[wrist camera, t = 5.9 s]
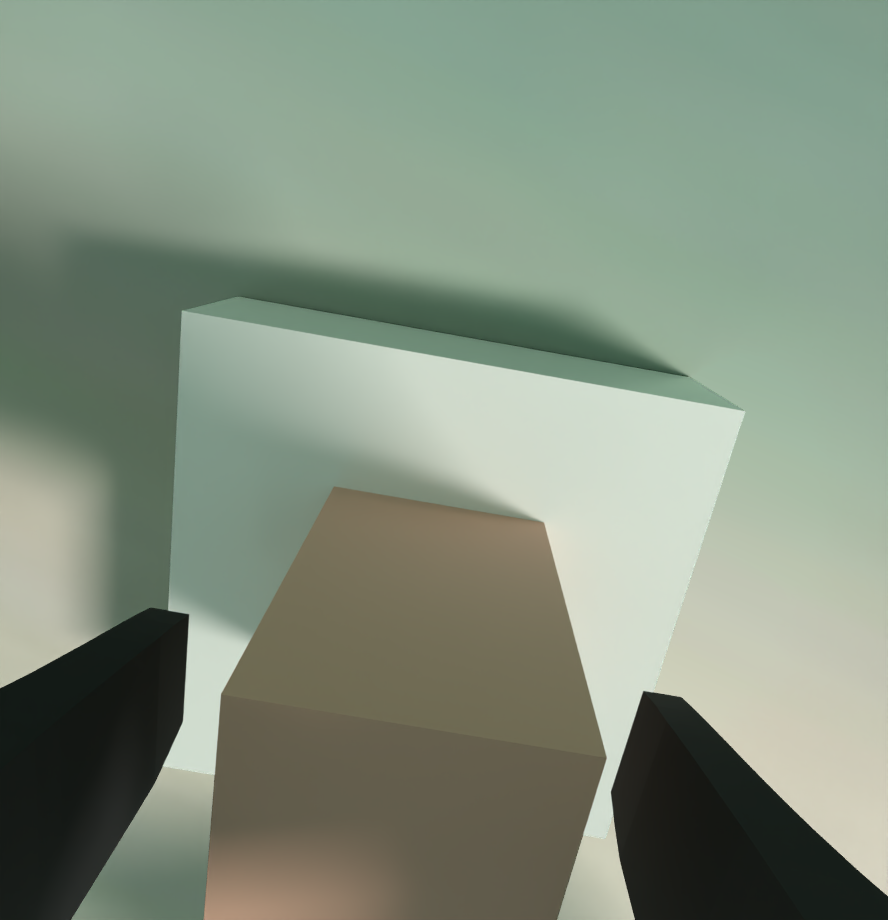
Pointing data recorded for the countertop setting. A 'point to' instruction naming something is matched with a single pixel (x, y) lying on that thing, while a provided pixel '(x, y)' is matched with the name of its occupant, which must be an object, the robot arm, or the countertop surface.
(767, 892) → the robot arm
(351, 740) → the block
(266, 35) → the countertop surface
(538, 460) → the slab
